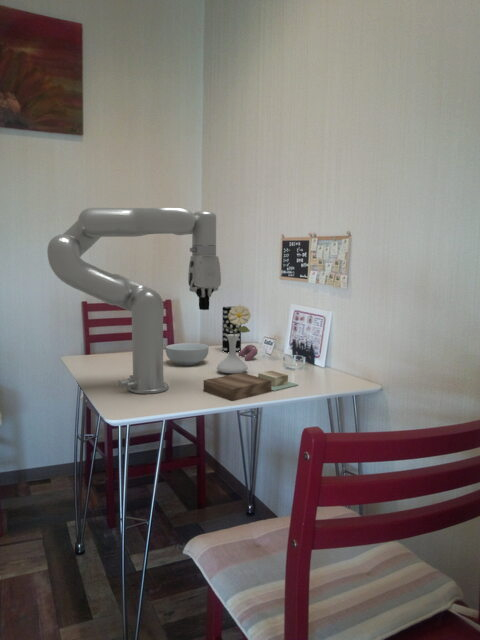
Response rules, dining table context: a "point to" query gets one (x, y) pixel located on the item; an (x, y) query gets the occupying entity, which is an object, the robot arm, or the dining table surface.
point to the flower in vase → (232, 362)
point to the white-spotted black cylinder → (229, 331)
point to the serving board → (237, 386)
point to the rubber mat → (283, 386)
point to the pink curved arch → (249, 352)
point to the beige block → (274, 378)
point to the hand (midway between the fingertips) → (204, 309)
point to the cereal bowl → (187, 353)
